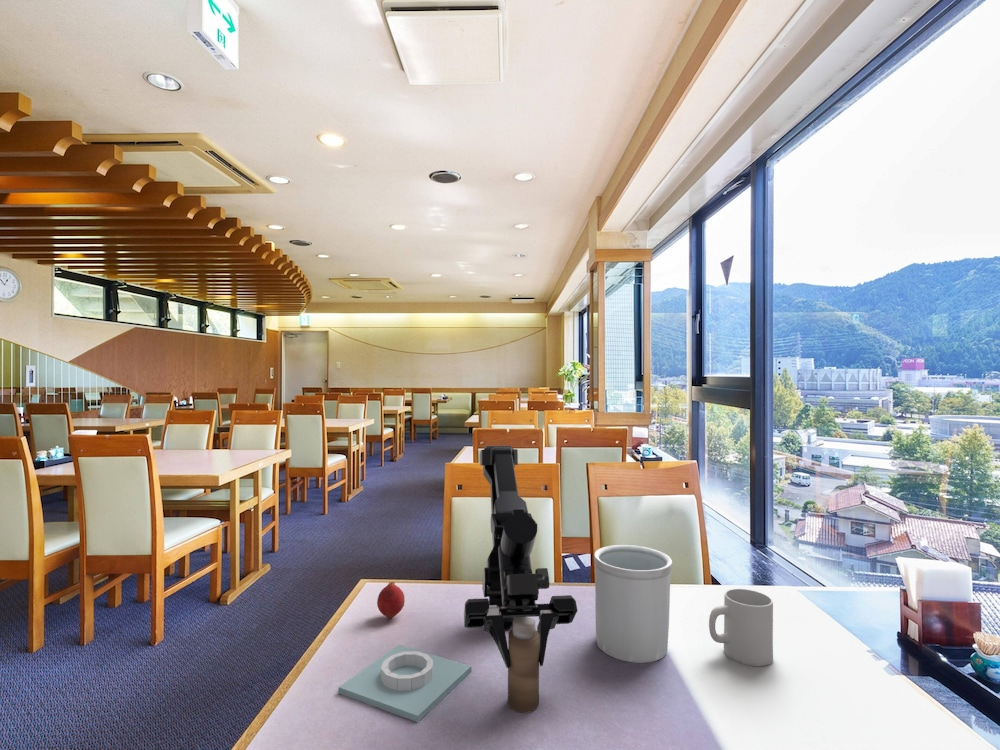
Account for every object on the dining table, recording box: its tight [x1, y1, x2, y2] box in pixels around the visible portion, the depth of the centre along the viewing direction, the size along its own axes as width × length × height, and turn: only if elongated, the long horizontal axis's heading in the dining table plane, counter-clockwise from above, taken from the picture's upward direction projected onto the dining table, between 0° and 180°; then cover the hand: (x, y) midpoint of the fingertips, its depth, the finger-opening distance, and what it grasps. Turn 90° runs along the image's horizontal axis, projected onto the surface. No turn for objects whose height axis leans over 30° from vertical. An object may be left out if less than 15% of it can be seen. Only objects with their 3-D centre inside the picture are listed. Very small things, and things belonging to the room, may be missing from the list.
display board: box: [337, 644, 472, 723], centre depth 92 cm, size 16×16×3 cm
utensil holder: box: [593, 544, 673, 664], centre depth 105 cm, size 15×15×18 cm
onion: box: [376, 579, 406, 619], centre depth 116 cm, size 6×6×8 cm
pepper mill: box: [507, 617, 540, 714], centre depth 86 cm, size 5×5×13 cm
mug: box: [708, 588, 774, 667], centre depth 102 cm, size 12×8×11 cm
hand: (525, 666), depth 85 cm, fingers closed on pepper mill, 5 cm apart
